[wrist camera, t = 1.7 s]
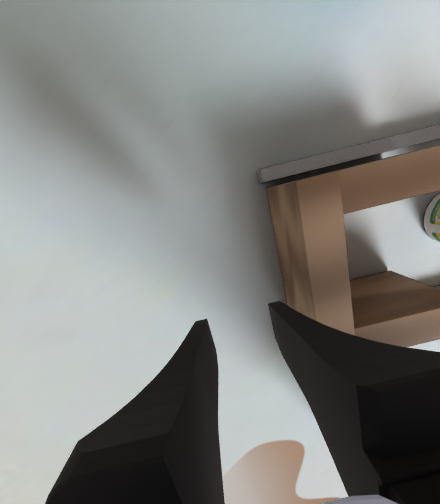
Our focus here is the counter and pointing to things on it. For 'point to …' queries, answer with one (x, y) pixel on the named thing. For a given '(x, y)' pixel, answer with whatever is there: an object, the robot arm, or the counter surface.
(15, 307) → the counter surface
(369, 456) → the robot arm
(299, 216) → the housing
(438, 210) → the supplement bottle
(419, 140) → the guide rails
